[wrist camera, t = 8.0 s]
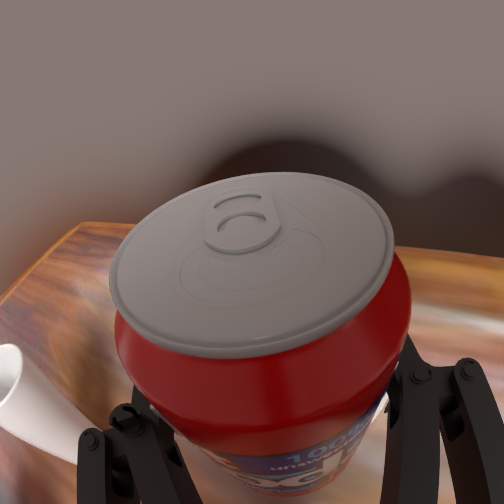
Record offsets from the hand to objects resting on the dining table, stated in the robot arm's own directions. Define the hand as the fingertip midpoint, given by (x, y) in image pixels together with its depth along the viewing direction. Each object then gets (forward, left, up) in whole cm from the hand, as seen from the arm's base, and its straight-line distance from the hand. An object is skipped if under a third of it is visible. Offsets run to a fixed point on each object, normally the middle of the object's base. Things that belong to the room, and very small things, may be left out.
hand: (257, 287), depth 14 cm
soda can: (-2, +5, -9) cm, 10 cm away
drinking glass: (+19, +9, -18) cm, 27 cm away
